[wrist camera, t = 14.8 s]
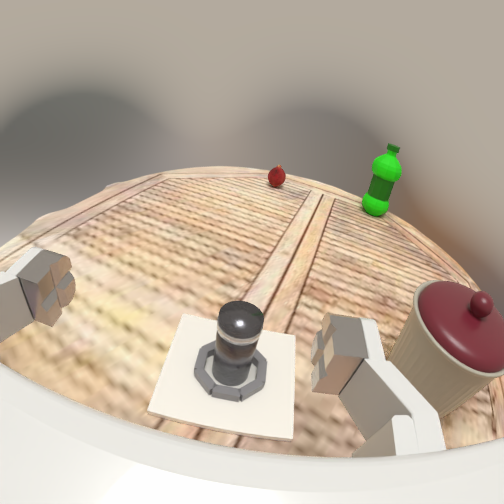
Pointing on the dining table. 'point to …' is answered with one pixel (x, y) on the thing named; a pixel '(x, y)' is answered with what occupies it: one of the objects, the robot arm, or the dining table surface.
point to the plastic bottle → (382, 182)
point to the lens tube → (236, 342)
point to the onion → (276, 176)
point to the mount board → (227, 397)
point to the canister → (450, 344)
